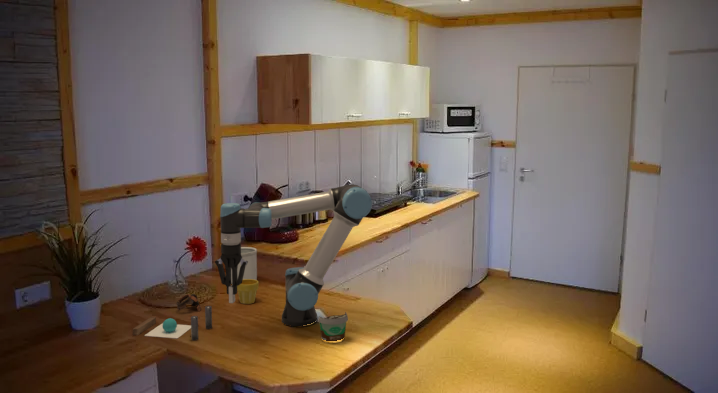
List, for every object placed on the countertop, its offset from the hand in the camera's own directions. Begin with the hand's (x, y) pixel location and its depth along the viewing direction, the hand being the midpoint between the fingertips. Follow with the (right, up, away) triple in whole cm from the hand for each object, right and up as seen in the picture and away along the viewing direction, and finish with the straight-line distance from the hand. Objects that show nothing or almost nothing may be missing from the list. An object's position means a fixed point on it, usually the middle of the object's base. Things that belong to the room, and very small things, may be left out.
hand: (232, 302), depth 230 cm
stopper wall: (-38, -12, +9) cm, 40 cm away
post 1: (-14, -14, -2) cm, 20 cm away
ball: (-26, -10, +5) cm, 29 cm away
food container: (+41, -15, -2) cm, 43 cm away
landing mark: (-27, -13, +7) cm, 30 cm away
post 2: (-12, -13, +10) cm, 20 cm away
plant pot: (-2, -8, +45) cm, 45 cm away
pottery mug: (-26, -10, +33) cm, 43 cm away
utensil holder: (-11, -4, +76) cm, 77 cm away
